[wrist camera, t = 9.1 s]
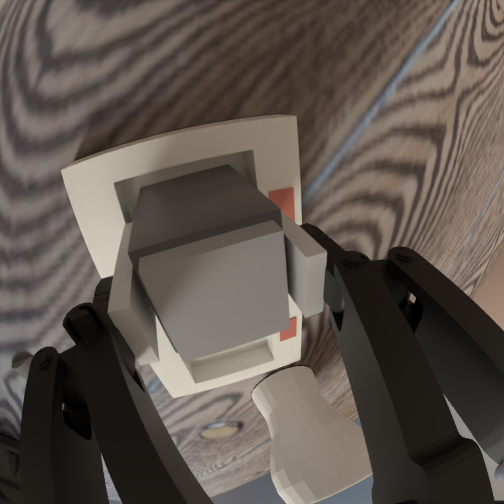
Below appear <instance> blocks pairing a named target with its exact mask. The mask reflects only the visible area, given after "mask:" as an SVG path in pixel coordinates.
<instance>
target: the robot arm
mask: <svg viewBox="0 0 504 504" xmlns="http://www.w3.org/2000/svg"><path fill="white" fill-rule="evenodd" d="M281 216H282V227H283V233H284V245H285V258H286V271H287V285H288V293H289V295H290V296H291V298H292V299H293V301H294V302H295V304H296V305H297V306H298V308H299V309H300V311H301V312H302V314H303V315H304V317H305V318H306V317H309V316H312V315H315V314H317V313H320V312H322V311H323V304H324V301H325V302H326V303H327V304H328V306H329V307H330V311H329V319H328V330H331V324H332V326H333V329H334V332H335V335H336V339H337V342H338V345H339V348H340V351H341V355H342V358H343V361H344V365H345V368H346V371H347V375H348V378H349V382H350V385H351V389H352V392H353V396H354V399H355V403H356V407H357V411H358V414H359V418H360V422H361V426H362V430H363V434H364V438H365V442H366V446H367V451H368V455H369V459H370V464H371V468H372V473H373V479H374V483H373V487H372V501H373V504H504V501H494V497H493V492H492V488H491V483H490V480H489V476H488V472H487V469H486V465H485V462H484V459H483V455H482V452H481V450H480V448H479V446H478V445H477V443H476V442H474V441H473V440H472V439H468V438H464V437H462V436H461V435H460V434H459V432H458V430H457V428H456V425H455V422H454V420H453V417H452V415H451V412H450V409H449V407H448V405H447V402H446V400H445V398H444V395H445V396H446V398H447V399H448V401H449V402H450V403H451V405H452V406H453V407H454V409H455V410H456V412H457V413H458V414H459V416H460V417H461V419H462V420H463V422H464V423H465V424H466V426H467V427H468V429H469V430H470V431H471V433H472V435H473V436H474V438H475V439H476V441H477V442H478V444H479V445H480V446H481V448H482V449H483V450H484V452H485V453H486V454H487V455H488V456H489V457H490V458H491V459H493V460H494V461H495V462H496V463H498V464H499V465H498V466H497V468H496V470H495V475H494V476H495V478H496V480H498V481H499V480H503V479H504V331H503V330H502V329H501V328H500V327H499V326H498V325H497V324H496V323H495V322H494V320H492V319H491V317H490V316H488V315H487V314H486V313H485V312H484V311H483V310H482V309H481V308H480V307H479V306H478V305H477V304H476V303H475V302H474V301H473V300H472V299H471V298H470V297H469V296H467V295H466V294H465V293H464V292H463V291H462V290H461V289H460V288H459V287H457V286H456V285H455V284H454V283H453V282H452V281H451V280H449V279H448V278H447V277H446V276H445V275H444V274H442V273H441V272H440V271H439V270H438V269H436V268H435V267H434V266H433V265H432V264H430V263H429V262H428V261H427V260H425V259H424V258H423V257H422V256H420V255H419V254H418V253H417V252H415V251H414V250H412V249H409V248H407V247H393V248H392V249H390V250H389V252H388V255H387V259H385V260H374V261H371V260H370V259H369V258H368V257H367V256H366V255H364V254H362V253H360V252H356V251H345V250H344V249H342V248H341V247H340V246H339V245H338V244H337V243H336V242H334V241H333V240H332V239H331V238H329V237H328V236H327V235H326V234H324V232H323V231H321V230H320V229H319V228H318V227H316V226H313V225H311V224H308V223H306V224H302V225H298V224H296V223H295V222H294V221H293V220H292V219H291V218H290V217H289V216H288V215H286V214H285V213H284V212H283V211H282V210H281ZM132 224H133V222H131V223H128V224H125V225H124V229H123V234H122V238H121V242H120V246H119V251H118V255H117V260H116V265H115V270H114V275H113V276H109V277H106V278H102V279H101V281H100V282H99V284H98V285H97V286H96V290H95V294H94V296H95V297H94V298H93V304H92V303H82V304H79V305H77V306H76V307H74V308H72V309H71V310H70V311H69V312H68V313H67V314H66V316H65V318H64V320H63V327H64V328H65V329H66V331H67V332H68V334H69V335H70V337H71V338H72V339H73V341H74V342H75V344H76V345H75V346H73V347H72V348H70V349H68V350H66V351H64V352H62V353H60V354H59V353H58V351H57V350H56V349H55V348H53V347H44V348H42V349H40V350H39V351H38V352H37V353H36V354H35V355H34V357H33V358H32V361H31V363H30V368H29V373H28V378H27V383H26V389H25V396H24V403H23V411H22V420H21V433H20V442H18V441H16V440H13V439H11V438H9V437H6V436H3V435H1V434H0V504H109V500H108V495H107V490H106V485H105V479H104V473H103V466H102V458H101V453H102V456H103V459H104V462H105V464H106V467H107V469H108V472H109V474H110V477H111V479H112V481H113V484H114V486H115V488H116V490H117V493H118V495H119V497H120V499H121V501H122V503H123V504H214V503H213V502H212V501H211V500H210V498H209V497H208V495H207V494H206V493H205V491H204V490H203V488H202V487H201V485H200V484H199V482H198V481H197V479H196V478H195V476H194V475H193V473H192V472H191V470H190V469H189V467H188V466H187V464H186V462H185V461H184V459H183V458H182V456H181V454H180V453H179V451H178V449H177V447H176V446H175V444H174V442H173V440H172V439H171V437H170V435H169V433H168V431H167V429H166V428H165V426H164V424H163V422H162V420H161V418H160V416H159V414H158V412H157V410H156V408H155V406H154V404H153V402H152V400H151V398H150V395H149V393H148V391H147V389H146V387H145V384H144V382H143V380H142V377H141V375H140V373H139V372H138V371H137V369H136V368H135V358H136V360H137V361H138V362H139V364H140V365H146V364H150V363H155V362H159V361H160V360H159V351H158V340H157V328H156V314H155V312H154V310H153V308H152V306H151V304H150V302H149V300H148V298H147V296H146V294H145V292H144V290H143V287H142V285H141V283H140V281H139V279H138V276H137V274H136V272H135V270H134V267H133V265H132V263H131V260H130V258H129V255H128V253H127V252H128V246H129V240H130V235H131V229H132ZM411 293H412V294H413V295H414V296H415V297H416V300H415V302H414V303H413V302H411V301H410V300H409V298H410V295H411ZM442 392H443V393H442ZM443 394H444V395H443ZM63 404H64V408H63ZM62 408H63V411H62Z"/></svg>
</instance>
